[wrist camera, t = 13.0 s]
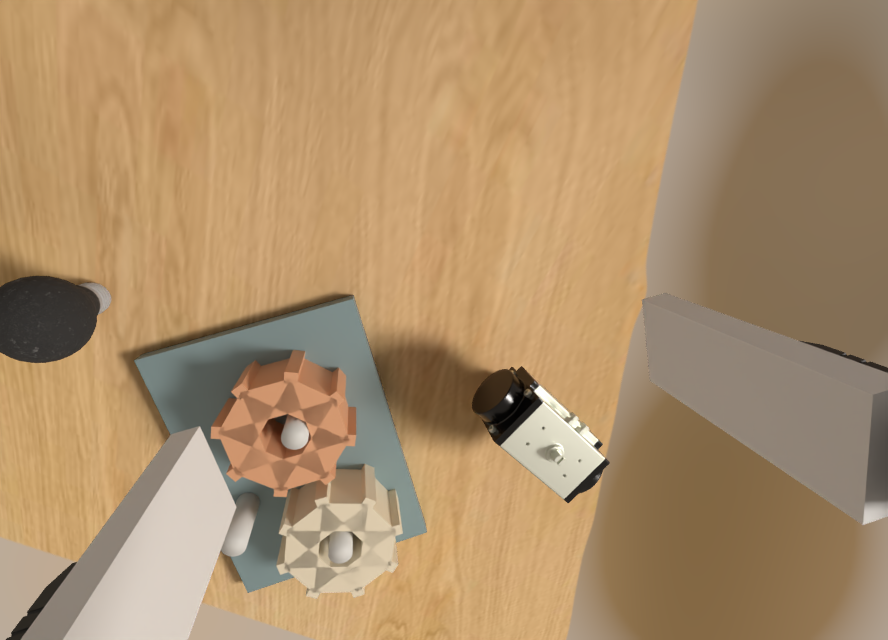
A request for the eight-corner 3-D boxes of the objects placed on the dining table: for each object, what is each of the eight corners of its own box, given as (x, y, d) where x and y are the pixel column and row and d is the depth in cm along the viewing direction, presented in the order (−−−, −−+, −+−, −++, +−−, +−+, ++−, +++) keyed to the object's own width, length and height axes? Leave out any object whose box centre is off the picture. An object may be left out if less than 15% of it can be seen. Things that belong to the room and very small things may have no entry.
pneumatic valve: (531, 443, 48) (585, 522, 37) (452, 374, 44) (484, 438, 33) (569, 405, 48) (636, 473, 36) (492, 332, 44) (540, 383, 33)
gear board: (142, 354, 39) (98, 388, 32) (353, 294, 41) (352, 315, 34) (251, 580, 46) (234, 645, 40) (425, 522, 48) (436, 575, 42)
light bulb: (154, 299, 38) (86, 336, 28) (102, 342, 38) (17, 394, 29) (96, 245, 36) (2, 266, 27) (41, 291, 36) (-71, 328, 27)
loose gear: (212, 371, 39) (192, 397, 34) (334, 338, 40) (331, 359, 35) (255, 473, 42) (242, 510, 37) (366, 440, 43) (368, 472, 38)
